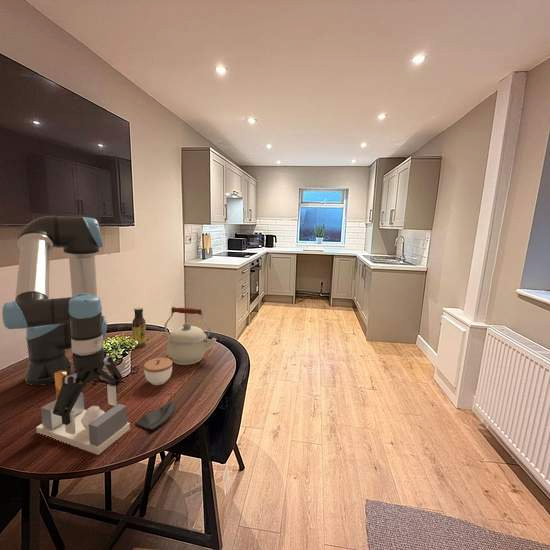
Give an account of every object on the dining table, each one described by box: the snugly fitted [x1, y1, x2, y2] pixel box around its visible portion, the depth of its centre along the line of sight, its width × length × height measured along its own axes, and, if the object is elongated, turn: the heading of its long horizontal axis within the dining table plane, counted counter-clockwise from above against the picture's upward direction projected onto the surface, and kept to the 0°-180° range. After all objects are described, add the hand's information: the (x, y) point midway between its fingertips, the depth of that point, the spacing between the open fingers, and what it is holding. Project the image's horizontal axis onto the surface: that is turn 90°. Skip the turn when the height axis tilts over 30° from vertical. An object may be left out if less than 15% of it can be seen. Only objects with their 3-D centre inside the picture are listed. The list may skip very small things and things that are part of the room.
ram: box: [40, 370, 85, 430], centre depth 88 cm, size 4×10×15 cm, turn 162°
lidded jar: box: [143, 357, 174, 386], centre depth 115 cm, size 11×11×9 cm
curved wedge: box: [135, 400, 176, 433], centre depth 95 cm, size 8×14×2 cm, turn 153°
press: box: [35, 403, 131, 456], centre depth 86 cm, size 24×11×8 cm, turn 72°
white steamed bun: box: [81, 405, 106, 431], centre depth 85 cm, size 6×6×7 cm
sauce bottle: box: [131, 307, 147, 348], centre depth 148 cm, size 6×6×20 cm
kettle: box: [164, 306, 217, 366], centre depth 135 cm, size 25×18×25 cm
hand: (93, 417), depth 85 cm, fingers open, 13 cm apart
